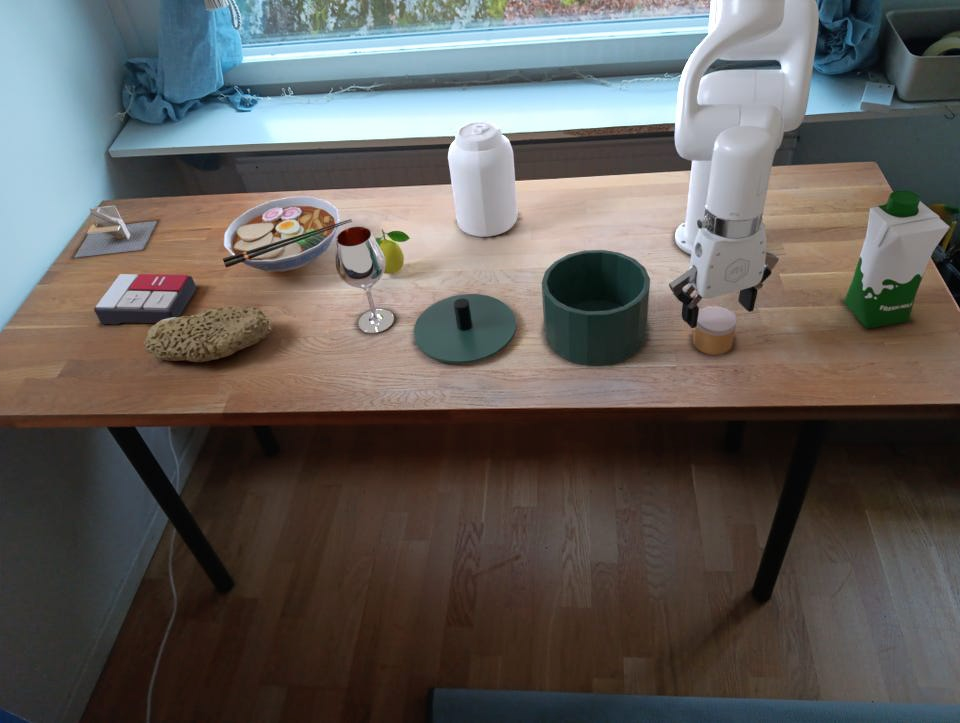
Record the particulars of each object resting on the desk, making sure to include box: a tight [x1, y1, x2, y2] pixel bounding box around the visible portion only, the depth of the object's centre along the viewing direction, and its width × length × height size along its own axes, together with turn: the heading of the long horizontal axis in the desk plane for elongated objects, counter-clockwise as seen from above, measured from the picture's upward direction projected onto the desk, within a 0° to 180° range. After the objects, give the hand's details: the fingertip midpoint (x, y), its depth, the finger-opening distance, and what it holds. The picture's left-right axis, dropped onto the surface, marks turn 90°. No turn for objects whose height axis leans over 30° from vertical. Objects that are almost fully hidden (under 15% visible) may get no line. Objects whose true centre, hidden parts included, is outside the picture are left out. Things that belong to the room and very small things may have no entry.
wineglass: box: [335, 225, 395, 334], centre depth 122 cm, size 8×8×18 cm
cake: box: [692, 305, 738, 356], centre depth 114 cm, size 6×6×5 cm
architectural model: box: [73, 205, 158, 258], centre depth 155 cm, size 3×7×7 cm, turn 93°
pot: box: [541, 249, 651, 367], centre depth 117 cm, size 17×17×11 cm
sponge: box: [143, 305, 272, 363], centre depth 126 cm, size 13×8×20 cm
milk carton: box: [843, 189, 951, 330], centre depth 110 cm, size 9×9×20 cm
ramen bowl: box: [222, 195, 353, 272], centre depth 143 cm, size 25×23×8 cm
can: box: [447, 120, 519, 238], centre depth 142 cm, size 12×12×20 cm
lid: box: [413, 293, 517, 365], centre depth 122 cm, size 18×18×6 cm
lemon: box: [374, 229, 411, 275], centre depth 135 cm, size 7×6×10 cm
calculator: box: [93, 273, 197, 325], centre depth 137 cm, size 11×4×15 cm
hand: (717, 314), depth 111 cm, fingers open, 9 cm apart
